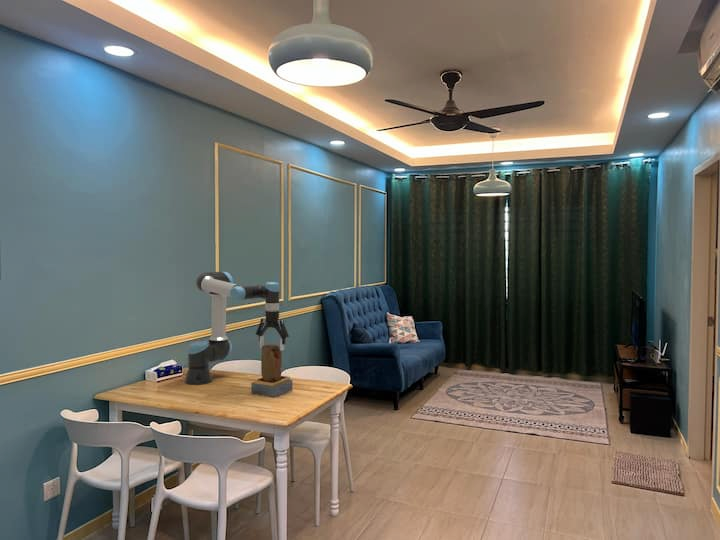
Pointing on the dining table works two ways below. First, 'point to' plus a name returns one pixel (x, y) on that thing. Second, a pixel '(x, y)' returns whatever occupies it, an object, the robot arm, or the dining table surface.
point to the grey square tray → (271, 387)
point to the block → (271, 363)
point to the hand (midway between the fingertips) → (271, 349)
